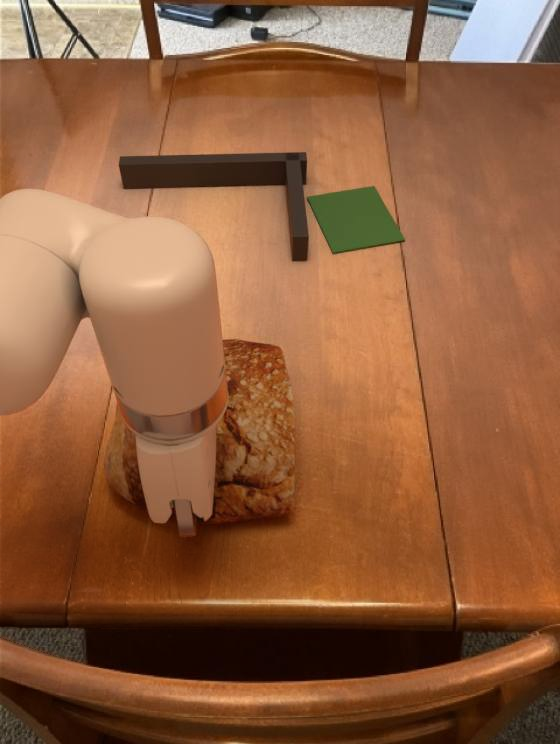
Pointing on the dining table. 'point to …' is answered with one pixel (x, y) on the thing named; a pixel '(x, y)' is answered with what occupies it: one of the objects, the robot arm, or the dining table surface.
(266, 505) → the bread
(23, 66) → the dining table surface
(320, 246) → the dining table surface
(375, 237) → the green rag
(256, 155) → the corner stop
